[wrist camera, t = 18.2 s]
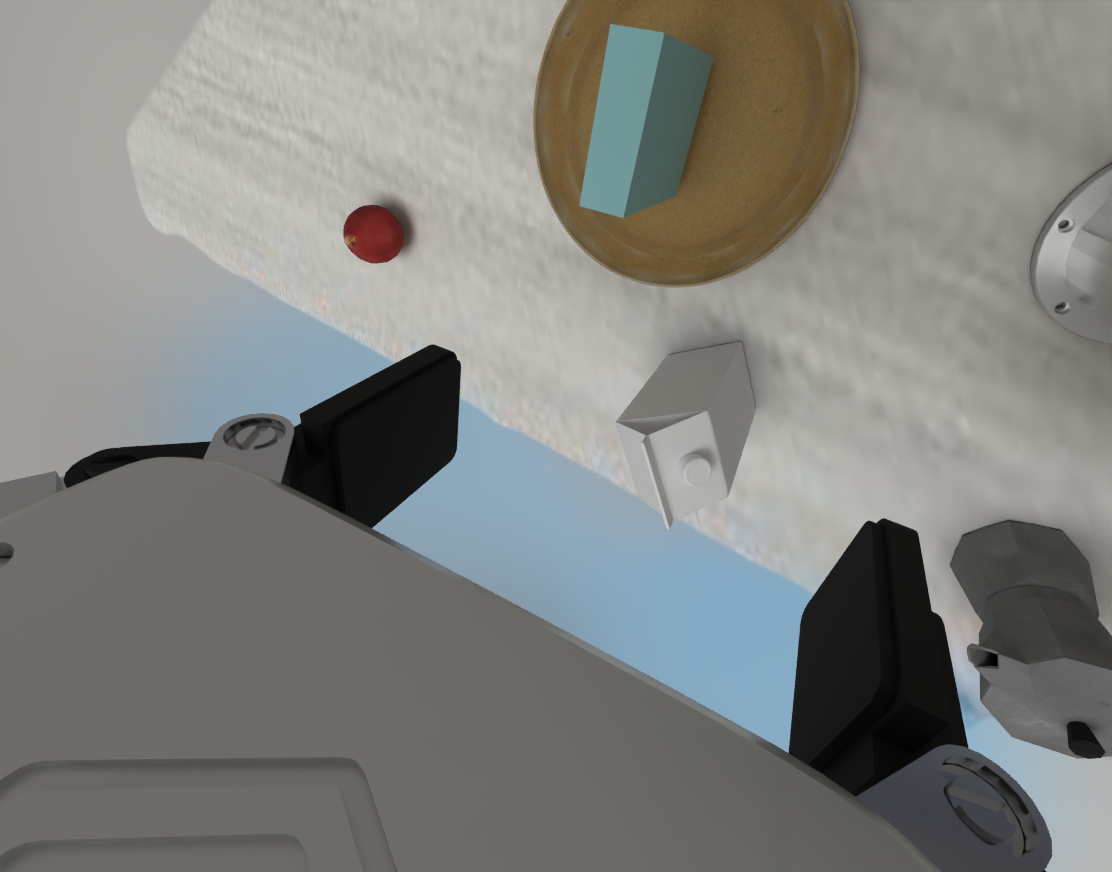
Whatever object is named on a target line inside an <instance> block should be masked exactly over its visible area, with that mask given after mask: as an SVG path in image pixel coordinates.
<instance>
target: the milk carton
mask: <svg viewBox="0 0 1112 872" xmlns="http://www.w3.org/2000/svg"><path fill="white" fill-rule="evenodd" d="M754 414H755V403H754V398H753V393H752V388H751V383H750V378H749V374H748V369H747V364H746V359H745V354H744V349H743V345H742V342H734V343H729V344H724V345H718V346H713V347H708V348H702V349H697V350H692V351H686V352H681V353H676V354H670V355H667V357H666V358H665V359H664V360H663V362H662V363H661V364H660V366H659V367H658V368H657V370H656V371H655V372H654V373H653V375H652V376H651V377H650V379H649V380H648V381H647V382H646V384H645V385H644V386H643V388H642V389H641V390H640V392H639V393H638V394H637V395H636V397H635V398H634V399H633V401H632V402H631V403H630V404H629V406H628V407H627V408H626V410H625V411H624V412H623V413H622V415H621V416H620V417H619V419H618V420H617V421H616V425H617V428H618V432H619V435H620V438H621V441H622V444H623V447H624V451H625V454H626V457H627V460H628V463H629V466H630V470H631V473H632V476H633V479H634V482H635V485H636V488H637V492H638V495H639V498H640V500H642V501H643V502H644V503H646V504H647V505H649V506H650V507H652V508H653V509H655V510H656V511H657V512H659V513H660V514H662V515H663V518H664V522H665V525H666V528H667V530H669V529H670V527H671V525H672V523H673V521H675V520H677V519H679V518H681V517H684V516H686V515H688V514H691V513H693V512H695V511H697V510H700V509H702V508H704V507H707V506H709V505H711V504H713V503H716V502H718V501H720V500H723V499H725V498H727V497H728V495H729V492H730V489H731V486H732V483H733V480H734V477H735V474H736V470H737V467H738V464H739V461H740V458H741V455H742V451H743V448H744V445H745V442H746V439H747V436H748V433H749V429H750V426H751V423H752V420H753V417H754Z"/></svg>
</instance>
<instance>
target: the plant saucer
mask: <svg viewBox="0 0 1112 872" xmlns="http://www.w3.org/2000/svg"><path fill="white" fill-rule="evenodd" d="M610 24H614V25H620V26H626V27H632V28H639V29H645V30H651V31H657V32H663V33H666V34H668V35H670V36H672V37H674V38H676V39H678V40H680V41H682V42H684V43H686V44H688V45H690V46H692V47H694V48H696V49H698V50H700V51H702V52H704V53H706V54H708V55H710V56H712V57H714V59H713V63H712V66H711V70H710V74H709V77H708V81H707V85H706V88H705V92H704V96H703V99H702V103H701V107H700V110H699V114H698V118H697V121H696V125H695V129H694V132H693V136H692V140H691V143H690V147H689V151H688V154H687V158H686V162H685V165H684V169H683V173H682V176H681V180H680V184H679V187H678V191H677V195H676V196H675V197H673V198H671V199H668V200H666V201H663V202H661V203H659V204H656V205H654V206H651V207H649V208H646V209H644V210H642V211H639V212H637V213H634V214H632V215H630V216H627V217H625V218H621V217H618V216H614V215H610V214H607V213H603V212H600V211H596V210H592V209H589V208H585V207H581V206H579V204H580V198H581V193H582V187H583V181H584V175H585V169H586V164H587V158H588V152H589V146H590V140H591V135H592V129H593V123H594V117H595V111H596V105H597V100H598V94H599V88H600V82H601V76H602V71H603V65H604V59H605V53H606V47H607V42H608V36H609V30H610ZM859 70H860V66H859V50H858V40H857V34H856V28H855V23H854V19H853V15H852V12H851V8H850V5H849V3H848V0H567V2H566V3H565V5H564V7H563V9H562V11H561V12H560V14H559V16H558V18H557V20H556V23H555V25H554V27H553V29H552V32H551V35H550V37H549V40H548V42H547V45H546V48H545V51H544V55H543V58H542V62H541V66H540V70H539V74H538V79H537V85H536V92H535V100H534V141H535V151H536V158H537V164H538V168H539V172H540V176H541V180H542V183H543V186H544V189H545V192H546V194H547V197H548V199H549V201H550V204H551V206H552V208H553V210H554V212H555V214H556V215H557V217H558V219H559V221H560V222H561V224H562V225H563V227H564V228H565V230H566V231H567V232H568V234H569V235H570V236H571V237H572V239H573V240H574V241H575V242H576V243H577V245H578V246H579V247H580V248H581V249H582V250H583V251H584V252H585V253H586V254H588V255H589V256H590V257H591V258H592V259H594V260H595V261H596V262H598V263H599V264H600V265H602V266H603V267H605V268H607V269H608V270H610V271H612V272H614V273H616V274H618V275H620V276H622V277H624V278H627V279H630V280H633V281H636V282H639V283H642V284H647V285H652V286H659V287H691V286H698V285H703V284H708V283H712V282H715V281H718V280H721V279H724V278H727V277H729V276H732V275H734V274H736V273H738V272H740V271H742V270H745V269H747V268H748V267H750V266H752V265H753V264H755V263H757V262H758V261H760V260H761V259H763V258H764V257H766V256H767V255H768V254H770V253H771V252H772V251H774V250H775V249H776V248H778V247H779V246H780V245H781V244H782V243H783V242H784V241H786V240H787V239H788V238H789V237H790V236H791V235H792V234H793V233H794V232H795V231H796V230H797V229H798V227H799V226H800V225H801V224H802V223H803V222H804V221H805V220H806V218H807V217H808V216H809V214H810V213H811V212H812V211H813V209H814V208H815V206H816V205H817V203H818V202H819V200H820V199H821V197H822V196H823V194H824V192H825V191H826V189H827V187H828V186H829V184H830V182H831V180H832V178H833V176H834V174H835V172H836V170H837V168H838V166H839V163H840V161H841V158H842V156H843V153H844V150H845V148H846V145H847V142H848V139H849V136H850V132H851V129H852V125H853V121H854V116H855V111H856V105H857V99H858V90H859Z"/></svg>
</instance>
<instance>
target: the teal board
mask: <svg viewBox="0 0 1112 872" xmlns="http://www.w3.org/2000/svg"><path fill="white" fill-rule="evenodd" d="M713 59H714V57H712V56H710V55H708V54H706V53H704V52H702V51H700V50H698V49H696V48H694V47H692V46H690V45H688V44H686V43H684V42H682V41H680V40H678V39H676V38H674V37H672V36H670V35H668V34H666V33H663V32H657V31H651V30H645V29H639V28H632V27H626V26H620V25H614V24H610V30H609V36H608V42H607V47H606V53H605V59H604V65H603V71H602V76H601V82H600V88H599V94H598V100H597V105H596V111H595V117H594V123H593V129H592V135H591V140H590V146H589V152H588V158H587V164H586V169H585V175H584V181H583V187H582V193H581V198H580V204H579V206H581V207H585V208H589V209H592V210H596V211H600V212H603V213H607V214H610V215H614V216H618V217H621V218H625V217H627V216H630V215H632V214H634V213H637V212H639V211H642V210H644V209H646V208H649V207H651V206H654V205H656V204H659V203H661V202H663V201H666V200H668V199H671V198H673V197H675V196H676V195H677V191H678V187H679V184H680V180H681V176H682V173H683V169H684V165H685V162H686V158H687V154H688V151H689V147H690V143H691V140H692V136H693V132H694V129H695V125H696V121H697V118H698V114H699V110H700V107H701V103H702V99H703V96H704V92H705V88H706V85H707V81H708V77H709V74H710V70H711V66H712V63H713Z"/></svg>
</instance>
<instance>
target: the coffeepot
mask: <svg viewBox="0 0 1112 872" xmlns="http://www.w3.org/2000/svg"><path fill="white" fill-rule="evenodd" d="M950 567H951V569H952V570H953V572H954V574H955V576H956V578H957V580H958V581H959V583H960V585H961V587H962V589H963V590H964V592H965V594H966V596H967V598H968V599H969V601H970V603H971V605H972V607H973V609H974V610H975V612H976V614H977V615H978V616H979V618H980V619H981V621H982V622H983V625H982V627H981V630H980V632H979V645H976V644H970V645H969V646H968V647H967V654H968V659H969V661H970V662H971V663H972V664H973V665H974V667H975V668H976V669H977V670H978V671H979V672H980V700H981V702H982V704H983V705H984V706H985V707H986V708H987V709H988V710H989V712H990V713H991V714H992V715H993V716H994V717H995V718H996V719H997V721H998V722H999V723H1000V724H1001V725H1002V726H1003V727H1004V729H1005V730H1006V731H1007V732H1008V733H1009V734H1010V735H1011V737H1014V738H1017V739H1020V740H1023V741H1026V742H1029V743H1032V744H1035V745H1039V746H1041V747H1044V748H1047V749H1051V750H1053V751H1056V752H1059V753H1062V754H1065V755H1069V756H1072V757H1075V758H1087V759H1091V758H1101V757H1106V756H1112V636H1111V635H1110V633H1109V632H1108V631H1107V630H1106V628H1105V627H1104V626H1103V625H1102V623H1101V622H1100V621H1099V620H1098V617H1099V611H1098V606H1097V601H1096V596H1095V591H1094V586H1093V581H1092V576H1091V571H1090V566H1089V562H1088V561H1087V560H1086V559H1085V557H1084V556H1083V555H1082V554H1081V553H1080V551H1079V550H1078V549H1077V547H1076V546H1075V545H1074V544H1073V543H1072V542H1071V541H1070V540H1069V538H1068V537H1067V536H1066V535H1065V534H1064V532H1063V531H1059V530H1055V529H1051V528H1047V527H1044V526H1040V525H1036V524H1030V523H1022V522H1011V521H1007V522H1002V523H997V524H993V525H989V526H985V527H983V528H980V529H978V530H976V531H974V532H972V533H970V534H968V535H965V536H963V537H962V539H961V541H960V543H959V545H958V546H957V548H956V550H955V554H954V557H953V559H952V562H951V564H950Z"/></svg>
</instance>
